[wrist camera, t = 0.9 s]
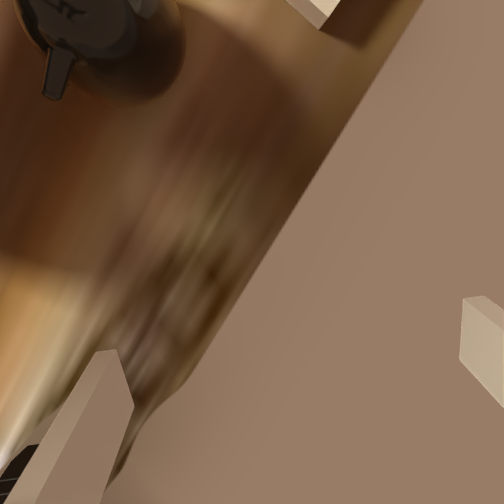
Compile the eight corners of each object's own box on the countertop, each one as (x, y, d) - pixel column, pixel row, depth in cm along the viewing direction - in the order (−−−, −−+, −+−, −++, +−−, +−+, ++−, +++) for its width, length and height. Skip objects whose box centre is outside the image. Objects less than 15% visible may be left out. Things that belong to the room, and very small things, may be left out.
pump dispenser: (70, 95, 33) (-61, 74, 19) (81, -38, 30) (-69, -184, 16) (181, 123, 34) (134, 123, 20) (202, -2, 31) (165, -110, 17)
